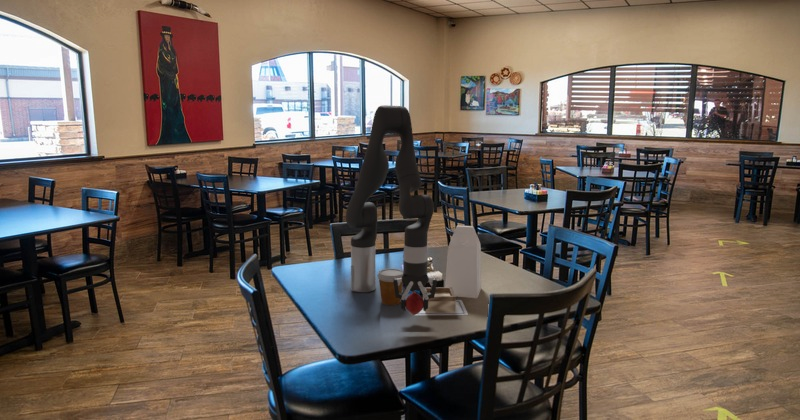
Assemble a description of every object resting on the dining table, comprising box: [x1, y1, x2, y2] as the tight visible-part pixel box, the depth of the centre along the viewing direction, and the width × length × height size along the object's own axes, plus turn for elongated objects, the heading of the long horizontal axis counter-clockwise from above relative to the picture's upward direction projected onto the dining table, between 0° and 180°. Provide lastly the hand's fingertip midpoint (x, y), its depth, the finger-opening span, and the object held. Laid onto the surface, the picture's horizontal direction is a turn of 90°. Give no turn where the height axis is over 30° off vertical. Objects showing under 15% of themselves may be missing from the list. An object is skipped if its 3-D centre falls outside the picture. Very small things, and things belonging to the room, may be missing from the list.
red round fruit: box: [405, 290, 424, 316], centre depth 174 cm, size 6×6×8 cm
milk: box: [444, 225, 482, 299], centre depth 202 cm, size 12×12×26 cm
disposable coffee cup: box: [377, 268, 404, 306], centre depth 192 cm, size 10×10×12 cm
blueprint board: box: [415, 299, 469, 316], centre depth 188 cm, size 18×14×1 cm
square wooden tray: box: [422, 286, 457, 313], centre depth 187 cm, size 10×10×6 cm
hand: (414, 309), depth 174 cm, fingers closed on red round fruit, 6 cm apart
